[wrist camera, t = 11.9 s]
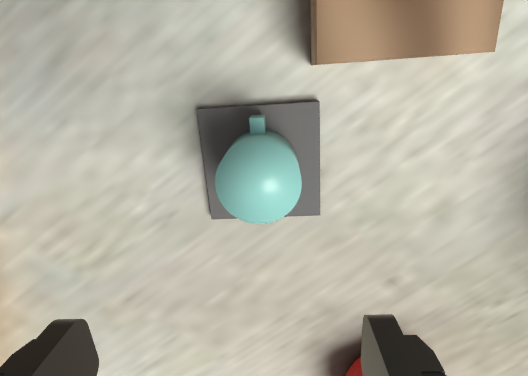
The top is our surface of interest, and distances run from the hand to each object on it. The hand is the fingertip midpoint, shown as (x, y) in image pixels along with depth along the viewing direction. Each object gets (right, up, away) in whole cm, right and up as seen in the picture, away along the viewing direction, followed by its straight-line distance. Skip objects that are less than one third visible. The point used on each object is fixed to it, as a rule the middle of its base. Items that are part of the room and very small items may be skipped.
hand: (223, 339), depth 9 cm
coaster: (+1, +6, +16) cm, 17 cm away
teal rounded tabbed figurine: (+1, +6, +15) cm, 17 cm away
